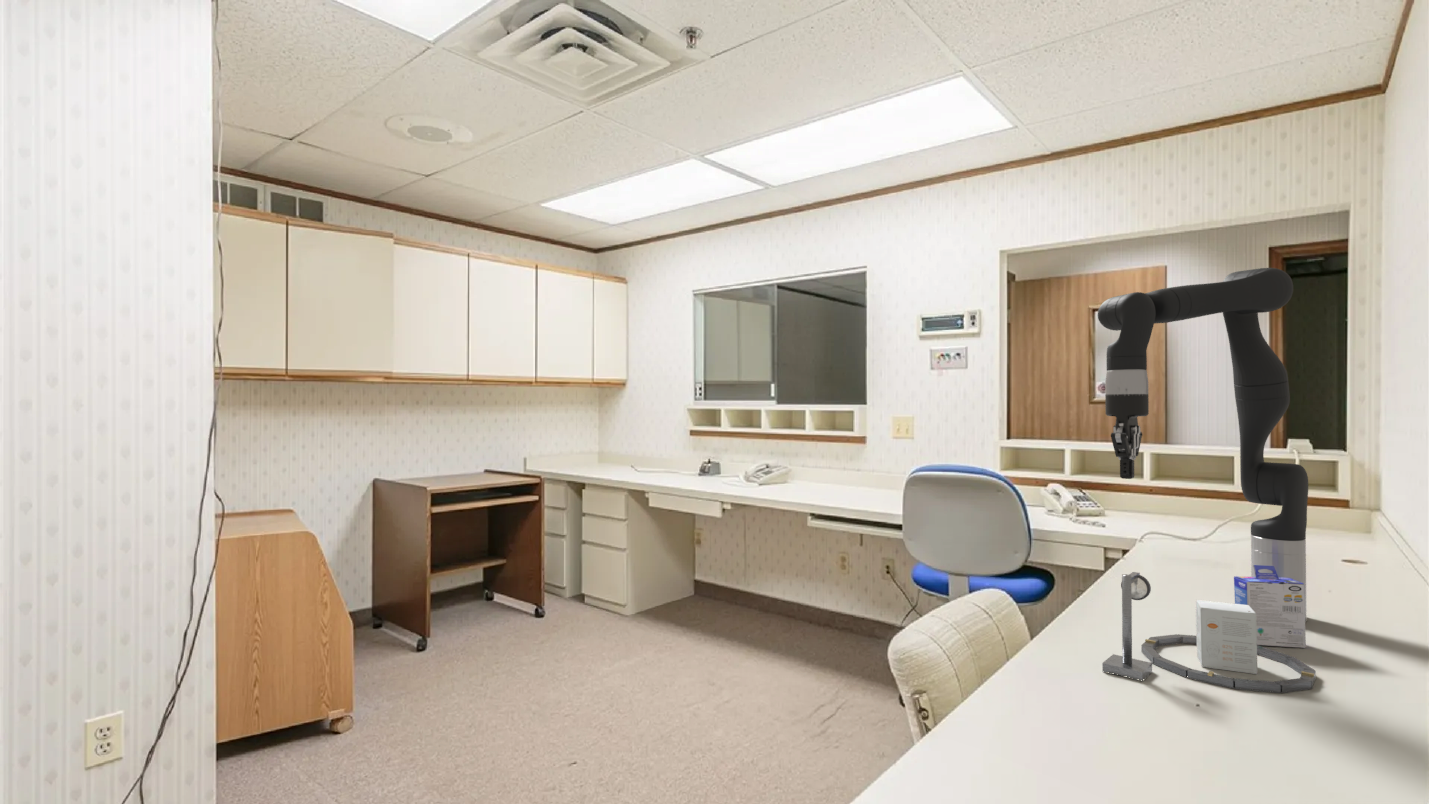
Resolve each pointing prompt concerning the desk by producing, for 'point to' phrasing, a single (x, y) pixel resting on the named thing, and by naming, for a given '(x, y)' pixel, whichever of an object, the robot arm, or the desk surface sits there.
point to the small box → (1226, 636)
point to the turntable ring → (1244, 684)
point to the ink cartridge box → (1274, 607)
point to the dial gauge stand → (1129, 630)
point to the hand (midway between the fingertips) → (1127, 478)
